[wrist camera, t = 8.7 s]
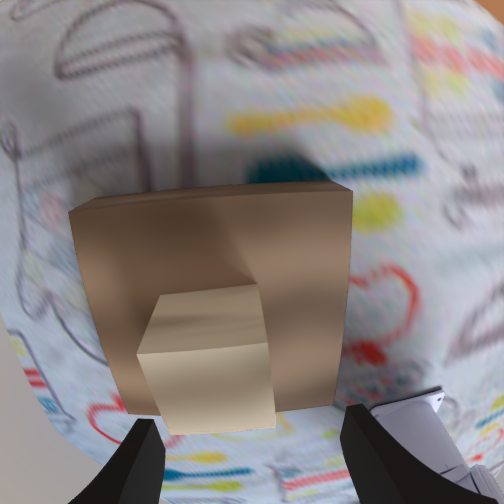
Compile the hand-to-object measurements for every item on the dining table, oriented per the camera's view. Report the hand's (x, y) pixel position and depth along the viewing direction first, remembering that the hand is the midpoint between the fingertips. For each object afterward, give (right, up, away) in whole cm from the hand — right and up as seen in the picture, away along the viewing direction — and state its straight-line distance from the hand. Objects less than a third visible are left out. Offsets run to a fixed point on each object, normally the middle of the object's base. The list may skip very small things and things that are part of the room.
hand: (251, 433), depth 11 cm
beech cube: (-2, +3, +6) cm, 7 cm away
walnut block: (-2, +4, +10) cm, 11 cm away
